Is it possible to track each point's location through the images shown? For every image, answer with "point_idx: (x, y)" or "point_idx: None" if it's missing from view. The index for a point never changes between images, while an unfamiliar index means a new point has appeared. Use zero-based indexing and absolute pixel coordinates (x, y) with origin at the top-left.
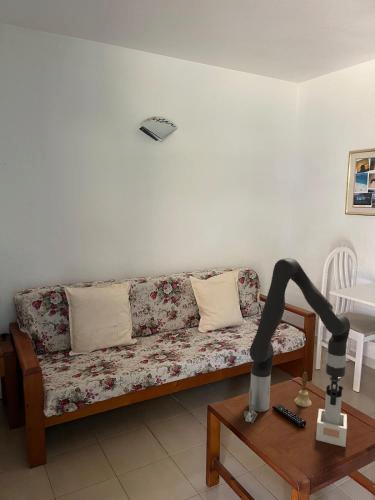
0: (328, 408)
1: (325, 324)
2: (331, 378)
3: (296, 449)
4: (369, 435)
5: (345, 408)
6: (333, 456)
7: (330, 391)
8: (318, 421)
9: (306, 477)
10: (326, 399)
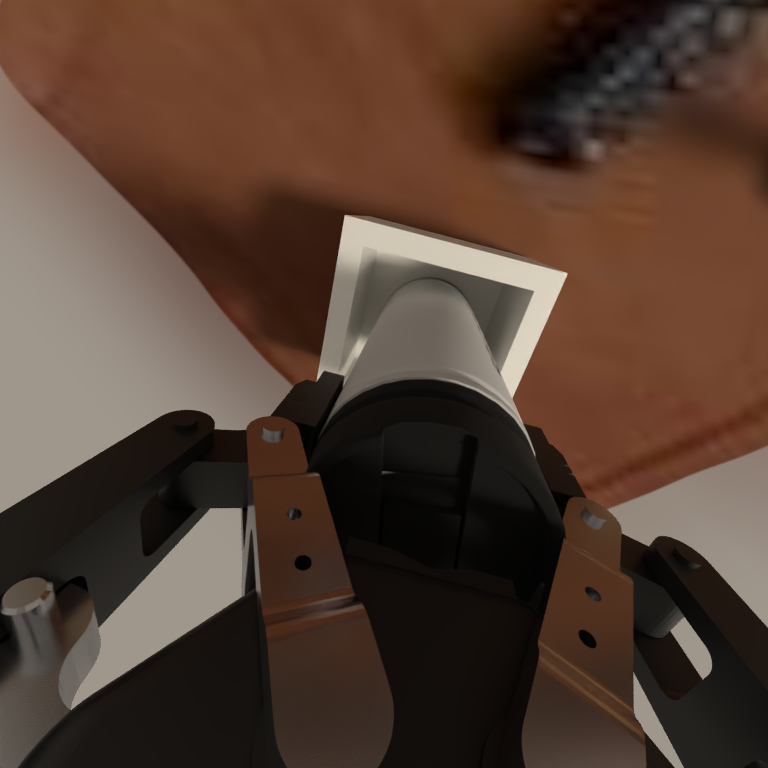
0: (373, 338)
1: None
2: (495, 766)
3: (243, 57)
4: None
5: (707, 458)
6: (251, 287)
7: (313, 459)
8: (359, 229)
9: (32, 101)
10: (397, 348)
